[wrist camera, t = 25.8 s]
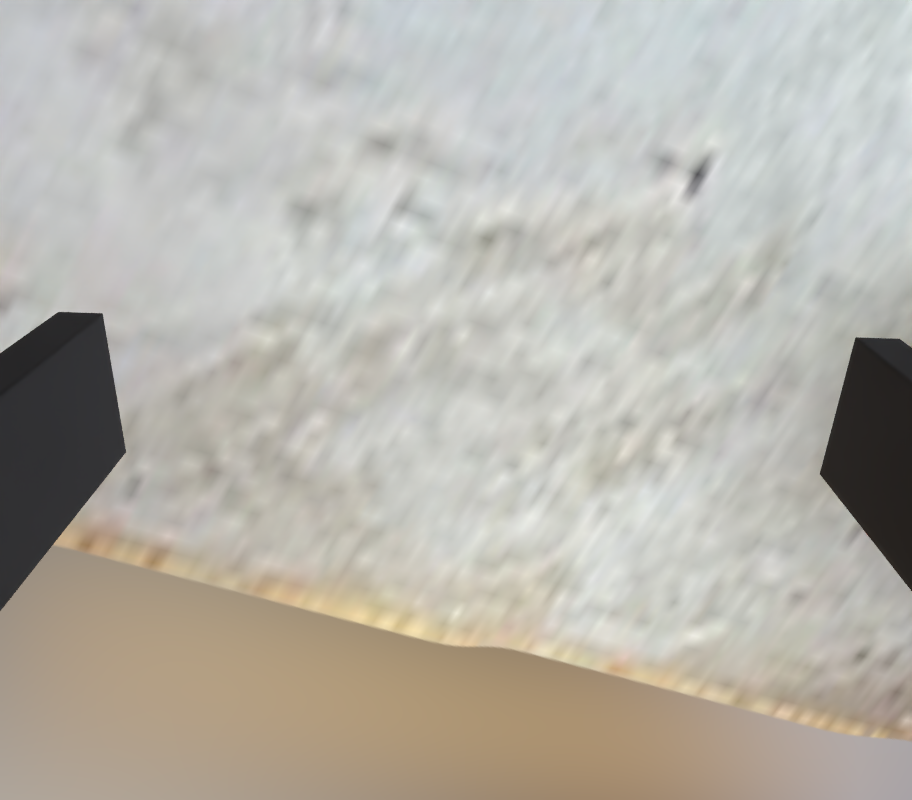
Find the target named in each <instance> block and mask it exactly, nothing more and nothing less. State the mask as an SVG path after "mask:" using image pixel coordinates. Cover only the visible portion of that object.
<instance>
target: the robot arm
mask: <svg viewBox="0 0 912 800" xmlns="http://www.w3.org/2000/svg"><path fill="white" fill-rule="evenodd" d="M125 453H126V449H125V443H124V437H123V431H122V426H121V420H120V414H119V408H118V402H117V396H116V390H115V384H114V378H113V372H112V367H111V361H110V355H109V349H108V343H107V337H106V331H105V325H104V319H103V314H102V313H71V312H58V313H56V314H55V315H54V316H52V317H51V318H49V319H48V320H47V321H45V322H44V323H42V324H41V325H40V326H38V327H37V328H35V329H34V330H32V331H31V332H30V333H28V334H27V335H25V336H24V337H23V338H21V339H20V340H18V341H17V342H16V343H14V344H13V345H11V346H10V347H9V348H7V349H6V350H4V351H3V352H1V353H0V610H1V609H2V608H3V607H4V606H5V604H6V603H7V602H8V601H9V599H10V598H11V597H12V596H13V594H14V593H15V592H16V590H17V589H18V588H19V587H20V585H21V584H22V583H23V582H24V580H25V579H26V578H27V577H28V575H29V574H30V573H31V572H32V570H33V569H34V568H35V566H36V565H37V564H38V563H39V561H40V560H41V559H42V558H43V556H44V555H45V554H46V553H47V551H48V550H49V549H50V548H51V546H52V545H53V544H54V542H55V541H56V540H57V539H58V537H59V536H60V535H61V534H62V532H63V531H64V530H65V529H66V527H67V526H68V525H69V524H70V522H71V521H72V520H73V518H74V517H75V516H76V515H77V513H78V512H79V511H80V510H81V508H82V507H83V506H84V505H85V503H86V502H87V501H88V500H89V498H90V497H91V496H92V494H93V493H94V492H95V491H96V489H97V488H98V487H99V486H100V484H101V483H102V482H103V481H104V479H105V478H106V477H107V476H108V474H109V473H110V472H111V470H112V469H113V468H114V467H115V465H116V464H117V463H118V462H119V460H120V459H121V458H122V457H123V455H124V454H125ZM820 475H821V476H822V477H823V479H824V480H825V481H826V482H827V484H828V485H829V486H830V488H831V489H832V490H833V491H834V493H835V494H836V495H837V496H838V498H839V499H840V500H841V502H842V503H843V504H844V505H845V507H846V508H847V509H848V510H849V512H850V513H851V514H852V516H853V517H854V518H855V519H856V521H857V522H858V523H859V524H860V526H861V527H862V528H863V530H864V531H865V532H866V533H867V535H868V536H869V537H870V538H871V540H872V541H873V542H874V544H875V545H876V546H877V547H878V549H879V550H880V551H881V552H882V554H883V555H884V556H885V558H886V559H887V560H888V561H889V563H890V564H891V565H892V566H893V568H894V569H895V570H896V572H897V573H898V574H899V575H900V577H901V578H902V579H903V580H904V582H905V583H906V584H907V586H908V587H909V588H910V589H911V591H912V348H911V347H910V346H908V345H907V344H906V343H904V342H903V341H902V340H900V339H886V338H855V342H854V345H853V349H852V353H851V357H850V361H849V365H848V368H847V372H846V376H845V380H844V384H843V387H842V391H841V395H840V399H839V403H838V406H837V410H836V414H835V418H834V422H833V426H832V429H831V433H830V437H829V441H828V445H827V448H826V452H825V456H824V460H823V464H822V468H821V471H820Z"/></svg>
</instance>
